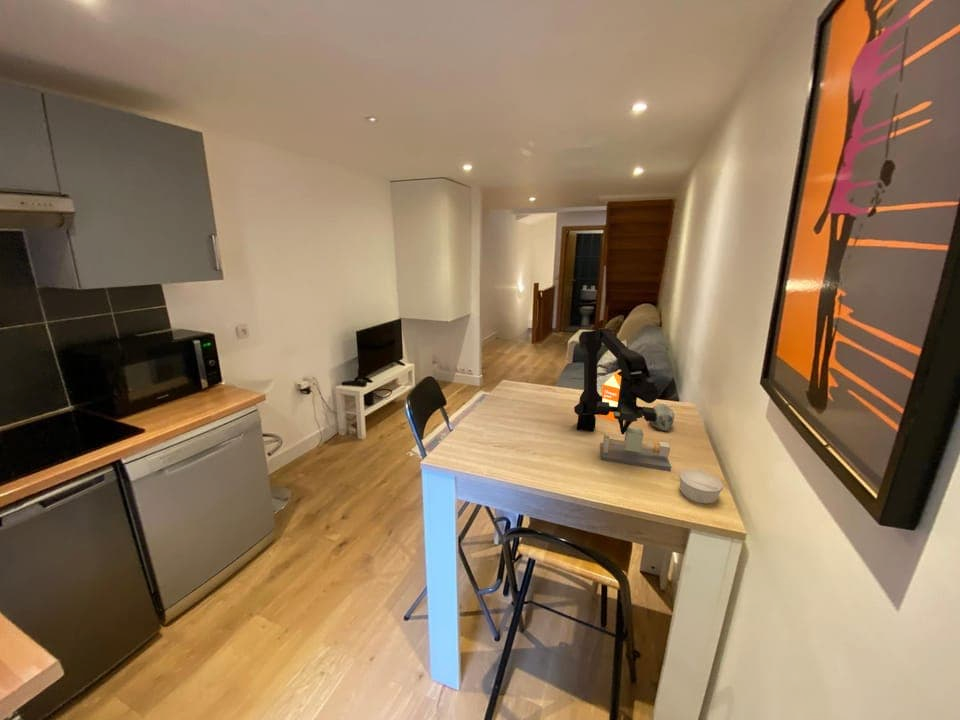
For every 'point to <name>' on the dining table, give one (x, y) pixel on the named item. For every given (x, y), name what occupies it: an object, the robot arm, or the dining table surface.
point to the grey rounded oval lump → (663, 417)
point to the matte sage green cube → (633, 439)
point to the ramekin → (700, 485)
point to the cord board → (636, 454)
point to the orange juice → (611, 393)
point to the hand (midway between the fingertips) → (622, 433)
